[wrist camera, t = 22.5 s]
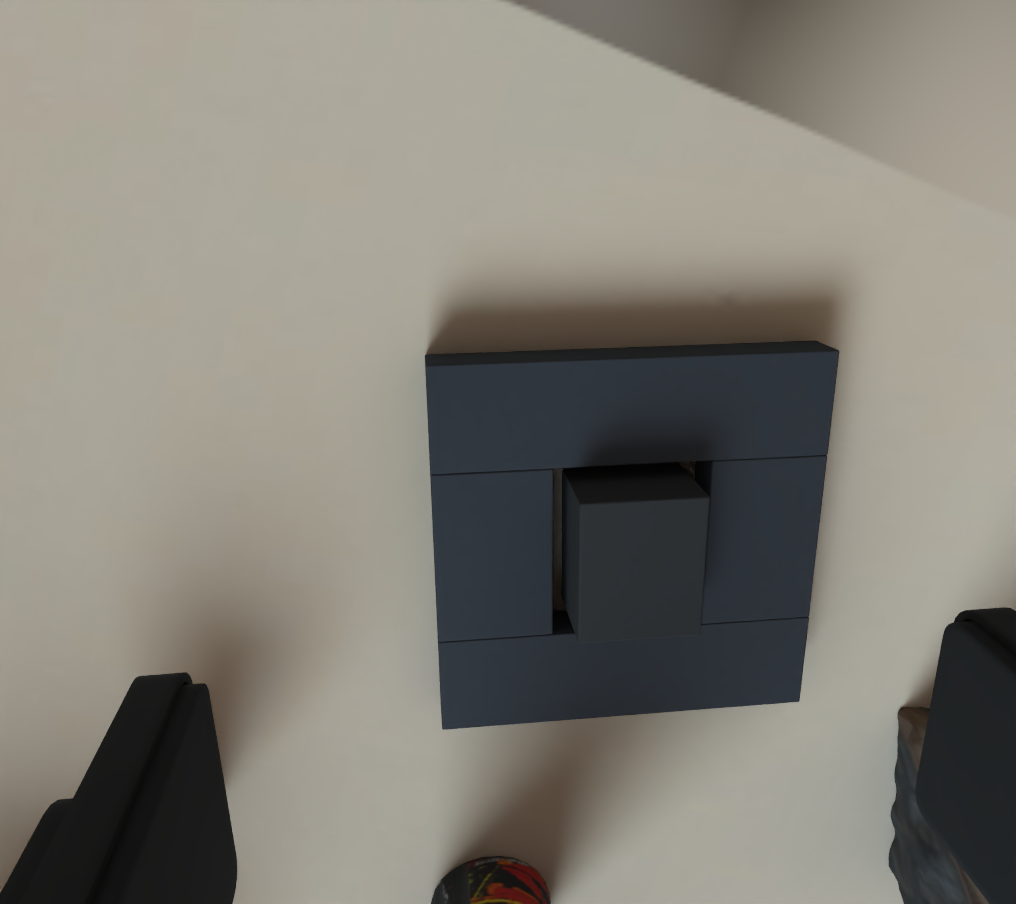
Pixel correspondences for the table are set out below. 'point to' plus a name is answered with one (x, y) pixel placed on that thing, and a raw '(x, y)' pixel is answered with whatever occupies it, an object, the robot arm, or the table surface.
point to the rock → (921, 831)
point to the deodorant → (492, 883)
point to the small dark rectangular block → (633, 551)
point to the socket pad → (624, 441)
